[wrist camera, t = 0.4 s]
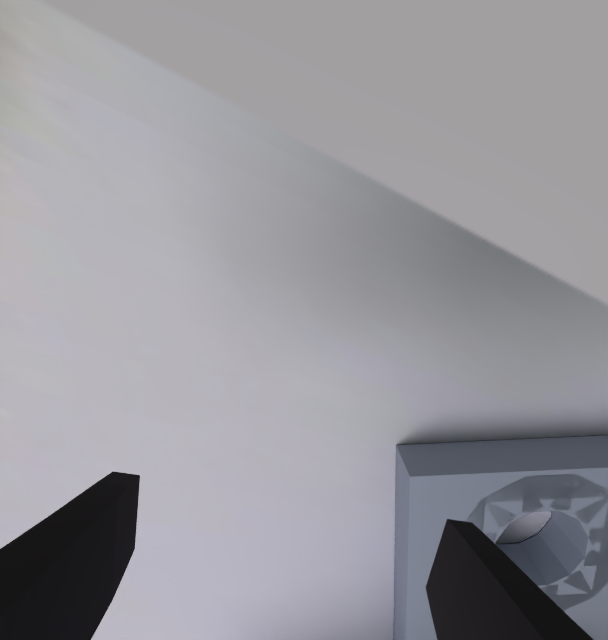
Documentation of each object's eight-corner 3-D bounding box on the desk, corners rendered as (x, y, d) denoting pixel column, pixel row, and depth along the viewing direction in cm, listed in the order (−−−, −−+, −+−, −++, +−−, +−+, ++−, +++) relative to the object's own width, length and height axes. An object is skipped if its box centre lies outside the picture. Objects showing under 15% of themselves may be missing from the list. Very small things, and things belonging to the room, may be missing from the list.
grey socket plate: (600, 646, 23) (636, 696, 20) (393, 655, 23) (404, 706, 20) (643, 433, 19) (693, 463, 16) (396, 445, 19) (409, 476, 17)
